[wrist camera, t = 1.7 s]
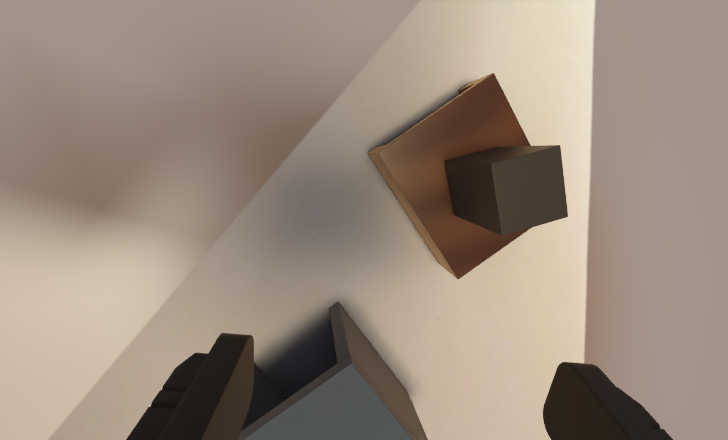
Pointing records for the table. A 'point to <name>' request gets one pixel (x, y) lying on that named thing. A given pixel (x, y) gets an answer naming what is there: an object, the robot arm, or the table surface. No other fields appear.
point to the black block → (508, 187)
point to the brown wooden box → (428, 174)
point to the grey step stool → (336, 398)
